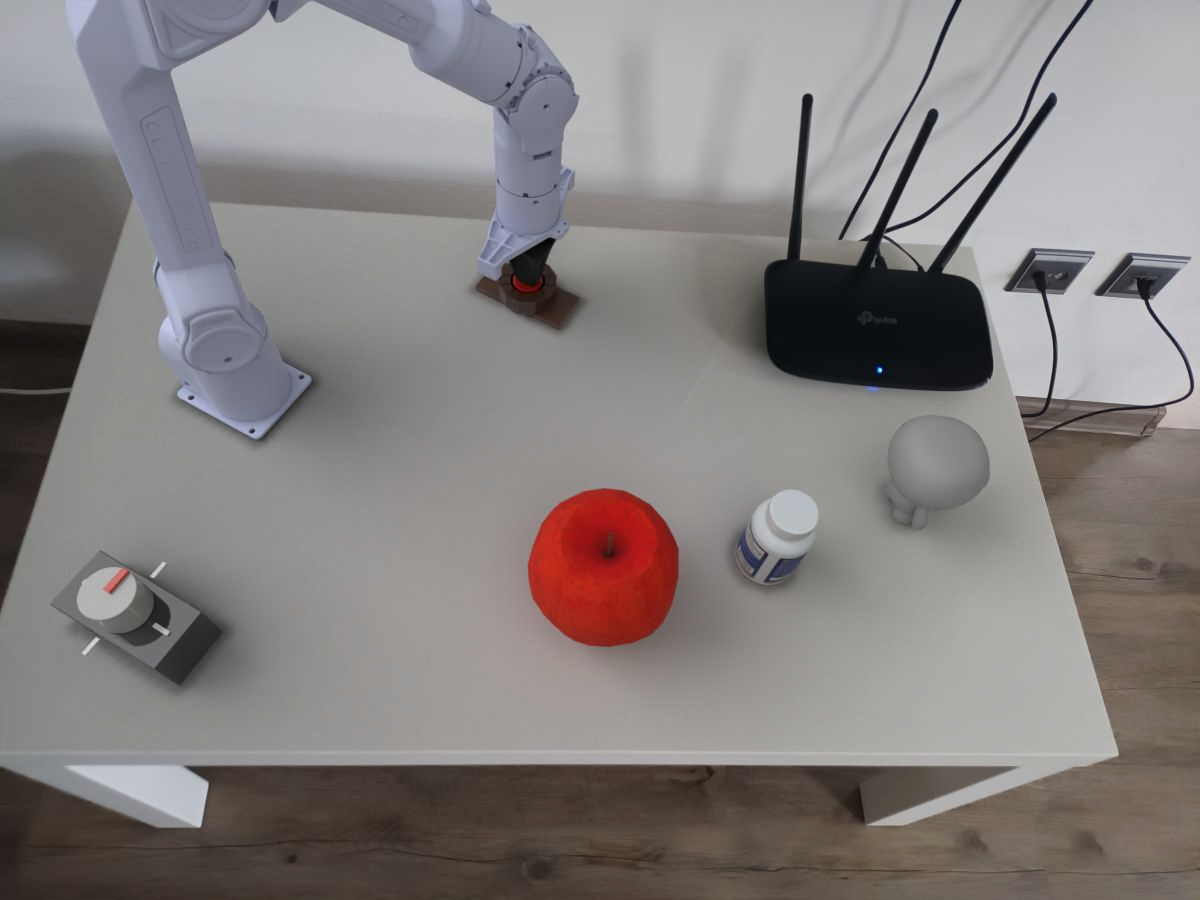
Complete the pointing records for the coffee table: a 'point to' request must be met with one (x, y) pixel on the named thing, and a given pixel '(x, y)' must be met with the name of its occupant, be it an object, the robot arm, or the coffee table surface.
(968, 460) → the figurine
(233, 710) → the coffee table surface
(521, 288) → the button
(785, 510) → the pill bottle
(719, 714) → the coffee table surface
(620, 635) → the apple
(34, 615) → the coffee table surface
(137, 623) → the hob knob
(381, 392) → the coffee table surface
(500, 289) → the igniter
